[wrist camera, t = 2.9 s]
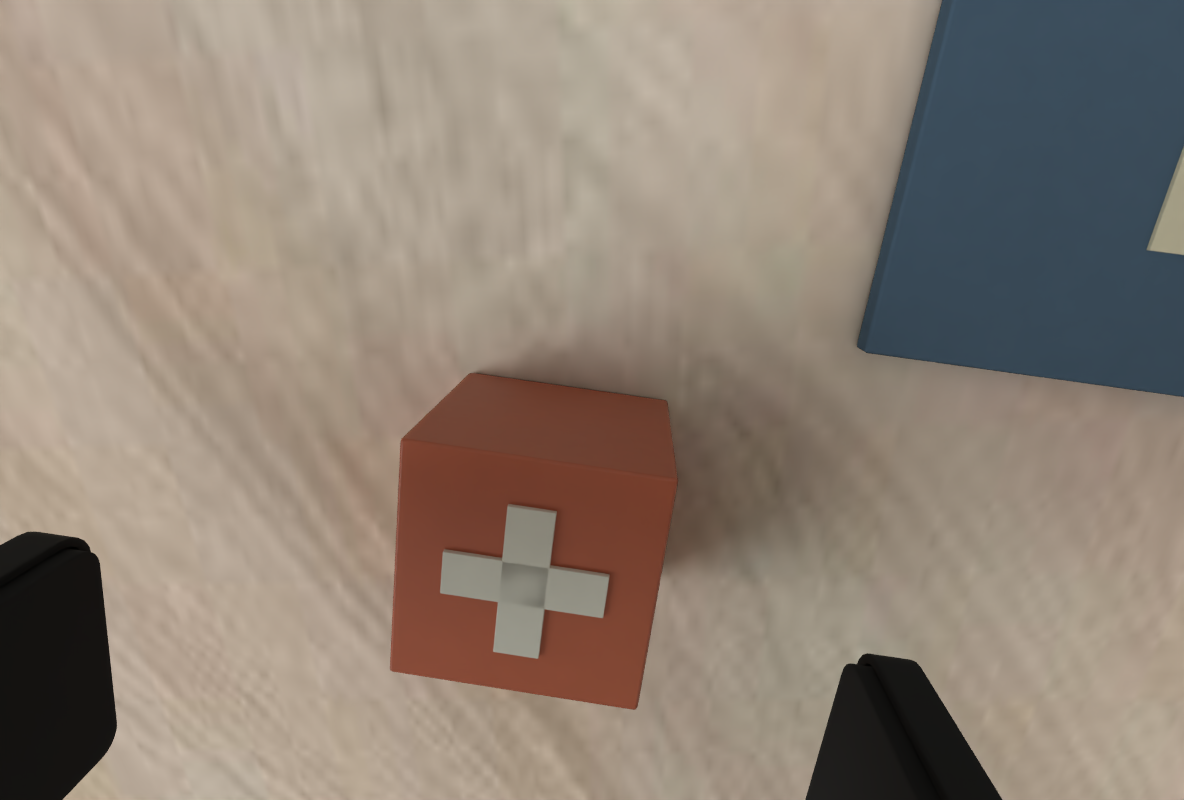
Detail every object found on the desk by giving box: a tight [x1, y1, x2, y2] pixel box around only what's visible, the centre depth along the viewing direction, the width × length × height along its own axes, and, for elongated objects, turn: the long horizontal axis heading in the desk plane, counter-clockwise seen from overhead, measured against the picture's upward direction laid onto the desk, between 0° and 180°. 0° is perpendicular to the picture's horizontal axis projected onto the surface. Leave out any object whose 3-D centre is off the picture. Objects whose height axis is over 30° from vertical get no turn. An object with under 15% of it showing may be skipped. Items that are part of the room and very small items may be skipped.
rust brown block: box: [390, 373, 678, 710], centre depth 13 cm, size 4×4×5 cm
